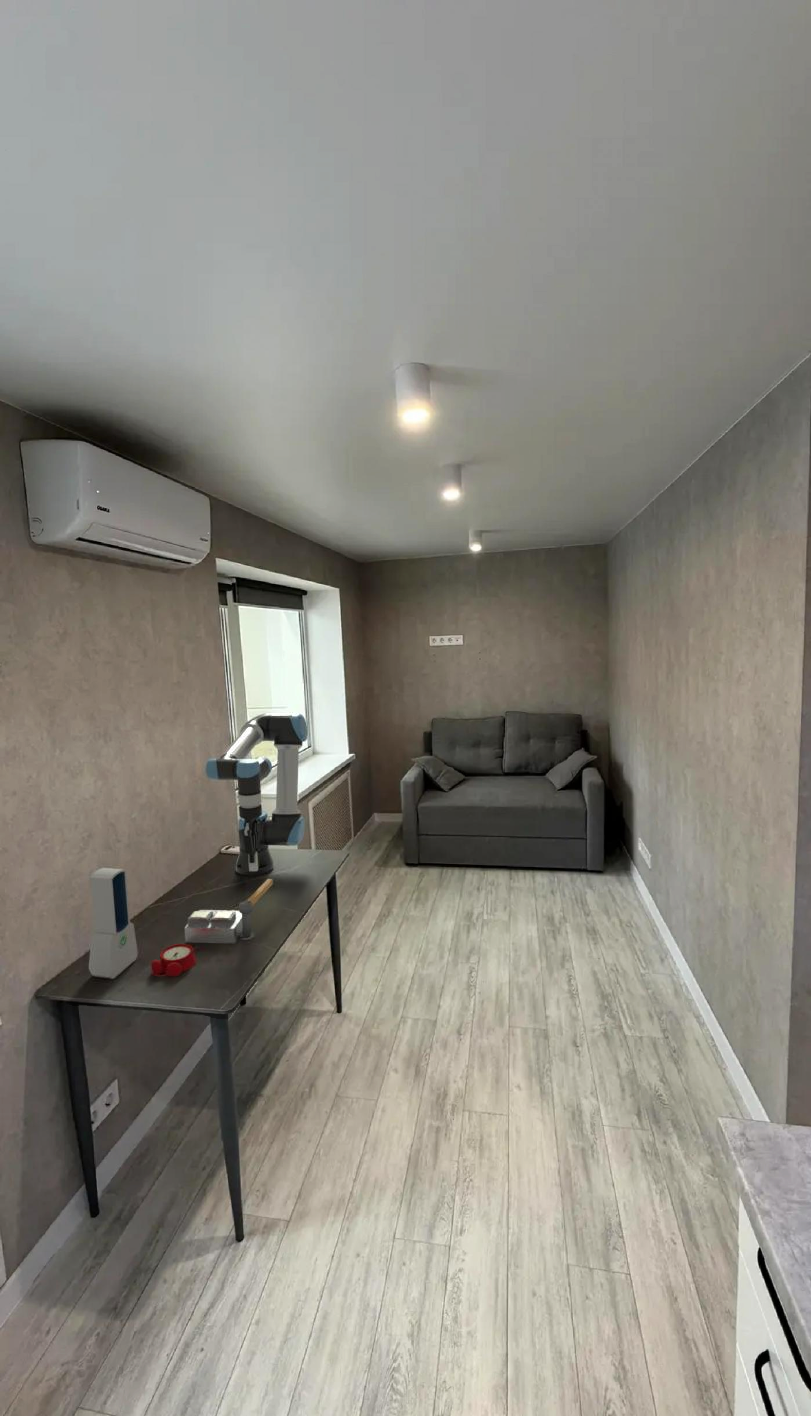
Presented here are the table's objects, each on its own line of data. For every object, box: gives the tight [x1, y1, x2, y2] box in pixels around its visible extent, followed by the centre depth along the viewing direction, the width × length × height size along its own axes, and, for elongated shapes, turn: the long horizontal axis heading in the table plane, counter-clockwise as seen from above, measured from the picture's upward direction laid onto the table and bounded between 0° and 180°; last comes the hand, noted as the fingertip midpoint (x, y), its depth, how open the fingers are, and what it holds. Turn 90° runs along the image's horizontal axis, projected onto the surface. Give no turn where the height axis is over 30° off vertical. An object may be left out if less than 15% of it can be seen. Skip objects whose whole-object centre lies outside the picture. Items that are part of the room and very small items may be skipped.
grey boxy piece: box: [184, 909, 256, 945], centre depth 197 cm, size 12×21×7 cm, turn 86°
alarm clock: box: [150, 943, 200, 978], centre depth 178 cm, size 10×6×15 cm
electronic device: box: [88, 867, 139, 980], centre depth 176 cm, size 12×8×30 cm, turn 168°
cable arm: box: [238, 878, 274, 937], centre depth 203 cm, size 22×4×11 cm, turn 170°
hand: (253, 870), depth 209 cm, fingers closed
